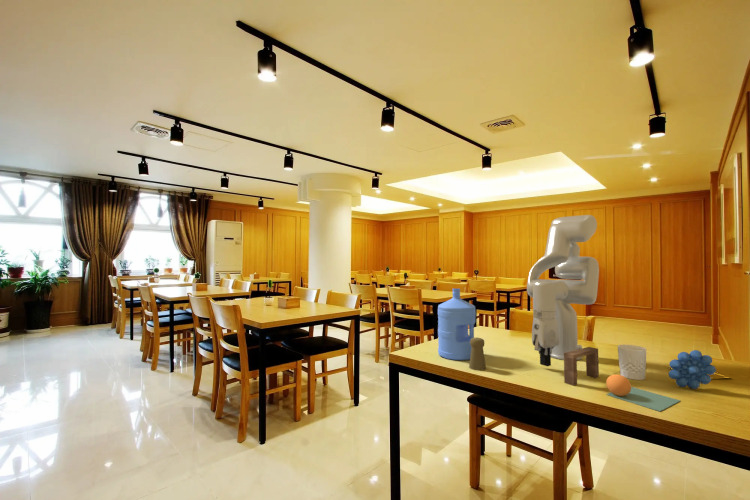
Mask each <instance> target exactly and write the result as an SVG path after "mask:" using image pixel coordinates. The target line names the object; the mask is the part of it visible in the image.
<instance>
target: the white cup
mask: <svg viewBox="0 0 750 500" xmlns="http://www.w3.org/2000/svg"><path fill="white" fill-rule="evenodd" d="M617 355H618V357H617V358H618V366H619V373H620V374H619V375H622V376H624V377H626V378H627V379H628V380H629V379H630V380H635V381H643V380H645V379H646V370H647V369H646V368H647V348H646V347H643V346H640V345H635V344H618V345H617Z"/></svg>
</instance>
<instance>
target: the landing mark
mask: <svg viewBox="0 0 750 500" xmlns="http://www.w3.org/2000/svg"><path fill="white" fill-rule="evenodd" d="M606 396H609V397H612V398H616V399H618V400H622V401H623V402H624V401H625V402H627V403H631V404H633V405H634V404H635V405H637V406H641V407H644V408H648V409H651V410H653V411H657V412H660V411H661V412H663V411H665V410H666V409H668V408H670V407H672V406H674V405H676V404H677V403H680V402H681V400H680V399H677V398H673V397H670V396H666V395H662V394H658V393H655V392H652V391H647V390H644V389H640V388H637V387H634V386H631V391H630V393H629V394H628V395H625V396H617V395H615V394H613V393H611V392H610V391H609V393H606Z"/></svg>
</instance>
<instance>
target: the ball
mask: <svg viewBox="0 0 750 500" xmlns="http://www.w3.org/2000/svg"><path fill="white" fill-rule="evenodd" d="M605 385H606V387H607V389H608V390H609V393H610V392H611V393H613V394H615V395H617V396H625V395H628V394H629V393H630V391H631V387H632V385H631V383H630V380H629V378H625V377H624V376H622V375H621V374H616V373H615V374H614V373H613V374H611V375H609V376H608V377H607V379H606V383H605Z"/></svg>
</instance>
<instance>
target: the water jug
mask: <svg viewBox="0 0 750 500" xmlns="http://www.w3.org/2000/svg"><path fill="white" fill-rule="evenodd" d="M476 314H477V313H476V306H475V305H474V304H471V303H470V302H469V301H466V300H464V299H462V298H461V288H452V298H450V299H448V300H447V301H444V302H442V303H440V304H438V306H437V318H438V320H437V323H438V324H437V337H438V341H437V342H438V344H437V345H438V347H437V352H438V356H440V357H442V358H445V359H447V360H452V361H454V360H455V361H468V360H469V361H470V356H471V348H472V347H471V345H470V340H471V339H472V338H475V323H476V317H477V315H476Z"/></svg>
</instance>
